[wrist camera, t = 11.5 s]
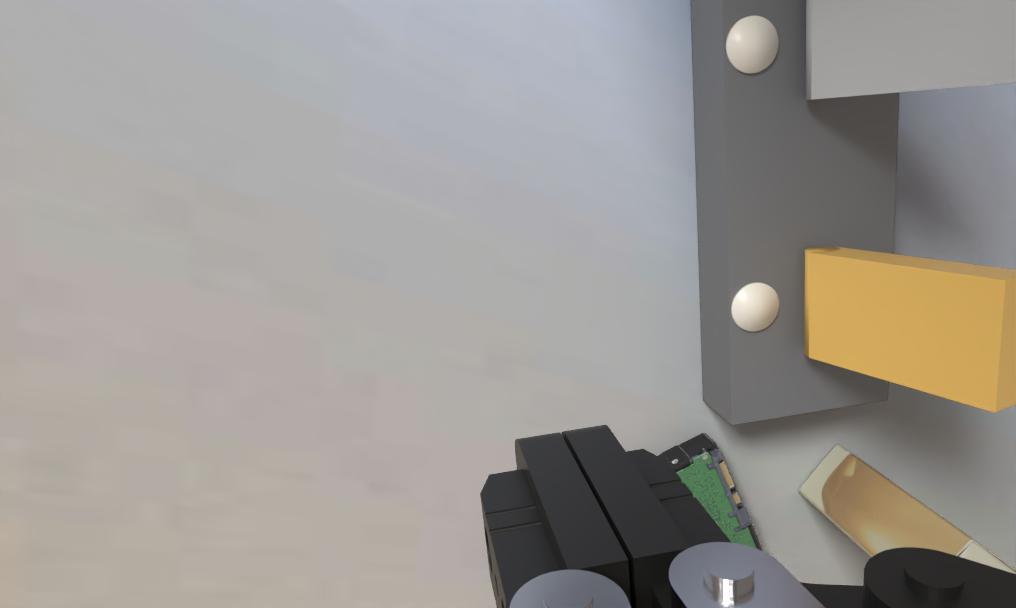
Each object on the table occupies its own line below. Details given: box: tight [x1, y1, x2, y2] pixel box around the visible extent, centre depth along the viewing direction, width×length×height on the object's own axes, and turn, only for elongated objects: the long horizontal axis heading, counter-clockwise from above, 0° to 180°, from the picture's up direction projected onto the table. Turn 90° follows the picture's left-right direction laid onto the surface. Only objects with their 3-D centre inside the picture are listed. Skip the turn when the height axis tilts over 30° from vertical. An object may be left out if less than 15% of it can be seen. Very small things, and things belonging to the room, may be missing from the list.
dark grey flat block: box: [691, 0, 899, 425], centre depth 41 cm, size 28×10×4 cm, turn 6°
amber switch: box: [804, 246, 1016, 413], centre depth 36 cm, size 6×2×11 cm, turn 6°
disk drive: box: [658, 433, 762, 551], centre depth 47 cm, size 10×3×15 cm
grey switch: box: [806, 0, 1016, 100], centre depth 33 cm, size 6×2×11 cm, turn 6°
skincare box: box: [799, 444, 1016, 574], centre depth 44 cm, size 6×4×12 cm
